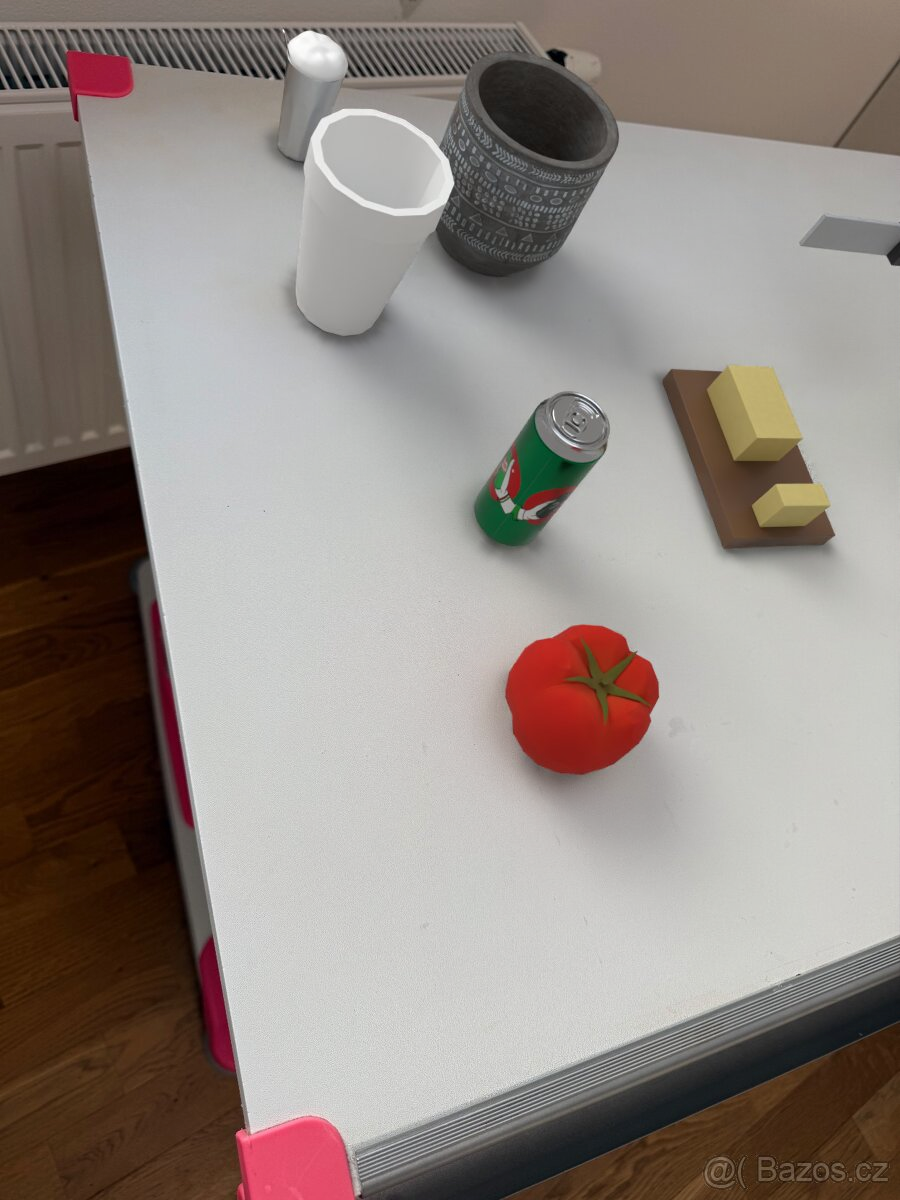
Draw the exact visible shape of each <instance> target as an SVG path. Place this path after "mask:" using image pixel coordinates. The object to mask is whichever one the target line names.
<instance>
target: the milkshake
mask: <svg viewBox="0 0 900 1200" xmlns="http://www.w3.org/2000/svg"><path fill="white" fill-rule="evenodd" d="M282 33H283V38H284V42H285V46H286V59H285V69H284V70H285V71H284V78H283V79H284V81H283V82H284V83H283V91H282V99H281V108H280V116H279V124H278V125H279V126H278V130H277V131H278V132H277V149H278V150H280V152H281V153H282V154H283V155H284V156H285V157H287V158H289V159H291V160H294V161H295V162H305V159H306V155H307V151H308V147H309V143H310V139H311V137H312V135H313V133H314V131H315V129H316V128H317V126H318V124H319V122H320V121H321V119H322V118H324V117H326V116H329V115H331V114H332V112H333V109H334V106H335V103H336V100H337V98H338V96H339V93H340V90H341V89H342V88H341V87H342V85H343V83H344V80H345V77H346V75H347V72H348V68H349V62H348V58H347V56H346V54H345V53H344V51H343V48H342V47H341V45H340V44H338V43H336V42H335V41H334V40H332V38H331V37H330V36H328V35H326V34H322V33H318V32H316V31H314V30H306V31H303V32H301V33H299V34H298V35H296V36H295V37H293V38H292V39H290V40H289V42H288V41H287V37H286V32H285V30H284V29H282Z"/></svg>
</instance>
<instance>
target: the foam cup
mask: <svg viewBox="0 0 900 1200" xmlns="http://www.w3.org/2000/svg"><path fill="white" fill-rule="evenodd" d="M303 174H304V190H303V200H302V201H303V202H302V212H301V213H302V214H301V222H300V223H301V225H300V233H299V234H300V235H299V243H298V244H299V245H298V257H297V266H296V276H295V277H296V278H295V298H296V299H295V300H296V304H297V307H298V309H299V311H300V312H301V313H302V315H303V316H304V317H305V319H306V320H307V322H310V323H311V324H313V325H314V326H316V327H317V328H318V329H320V330H321V331H323V332H326V333H330V334H333V335H337V336H341V337H346V336H356V335H362V334H363V333H364V332H366V331H368V330H369V329H371V328H372V327H373V326H374V324H375V323H376V322H377V320H378V319H379V317H380V315H381V314H382V313H383V311H384V309H385V307H386V306H387V304H388V302H389V301H390V299H391V298H392V296H393V294H394V292H395V291H396V289H397V287H398V286H399V284H400V282H401V281H402V280H403V278H404V276H405V274H406V273H407V271H408V270H409V268H410V266H411V265H412V263H413V262H414V260H415V258H416V257H417V255H418V254H419V252H420V250H421V248H422V247H423V245H424V244H425V242H426V241H427V239H428V237H429V235H430V234H432V233H433V232H436V227H437V224H438V222H439V220H440V217H441V215H442V212H443V210H444V208H445V205H446V203H447V200H448V198H449V195H450V193H451V190H452V188H453V186H454V180H453V176H452V172H451V168H450V164H449V160H448V159H447V157H446V156H445V155H444V154H443V152H442V151H441V150H440V149H439V146H438V144H437V143H436V142H435V141H434V139H433V138H432V137H431V136H429V135H428V134H427V133H425V132H423V131H422V130H420V129H419V128H418V127H417V126H415V125H413V124H412V123H410V122H409V121H407V120H406V119H404V118H401V117H398V116H395V115H392V114H389V113H386V112H383V111H380V110H377V109H374V108H343V109H340V110H338V111H335V112H334V113H331V115H329V116H326V117H324V118H322V119H321V121H320V122H319V124H318V126H317V128H316V129H315V131H314V133H313V135H312V137H311V139H310V143H309V147H308V151H307V155H306V159H305V161H304V163H303Z"/></svg>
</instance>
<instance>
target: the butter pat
mask: <svg viewBox="0 0 900 1200" xmlns="http://www.w3.org/2000/svg"><path fill="white" fill-rule="evenodd" d="M831 506H832V505H831V502H830V500H829V497H828V495H827V492H826V490H825V488H824V485H823V483H814V484H775V485H774V486H773V487H772V488H771V489H770V490H769V491H768V492H766V493H765V494H764V495H763V496H762V497H761V498H760V499H758V500H757V501H756V502H755V503H754V504H753V505H752V508H753V511H754V513H755V516H756V518H757V521H758V524H759V526H760V527H789V526H806V525H807V524H808V523H809V522H811V521H812V520H813V519H814V518H816V517H817V516H818V515H820V514H821V513H822V512H823V511H825V512H826V510H827V509H829V508H830V507H831Z"/></svg>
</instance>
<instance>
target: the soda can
mask: <svg viewBox="0 0 900 1200" xmlns="http://www.w3.org/2000/svg"><path fill="white" fill-rule="evenodd" d="M610 434H611V425H610V420H609V418H608V415H607V414H606V412H605V411H604V409H603V408H602V407H601V405H600V404H598V403H597V402H596V401H595V400H594V399H592V398H591V397H589V396H588V395H585V394H583V393H581V392H577V391H572V390H564V391H559V392H557V393H555V394H553V395H552V396H551V397H548V398H545V399H544V400H542V401H541V402H540V403H538V405H537V406H536V408H535V409H534V410H533V411H532V414H531V415H530V417H529V418H528V419H527V421H526V423H525V424H524V426H523V427H522V428H521V430H520V432H519V433H518V435H517V436H516V437H515V439H514V440H513V442H512V443H511V445H510V446H509V448H508V449H507V450H506V452H505V454H504V455H503V457H502V459H500V461H499V463H498V464H497V466H496V467H495V469H494V470H493V472H492V473H491V475H490V476H489V478H488V479H487V480H486V482H485V484H484V485H483V487H482V488H481V490H480V491H479V493H478V495H477V496H476V498H475V501H474V506H473V511H474V512H473V513H474V517H475V520H476V522H477V524H478V526H479V527H480V529H481V531H482V532H483V533H484V534H485V536H487V537H488V538H489V539H491V540H492V541H494V542H495V543H498V544H501V545H503V546H507V547H522V546H526V545H529V544H530V543H532V542H533V541H534V540H535V539H536V538H537V536H538V535H539V534H540V533H541V532H542V530H543V529H544V528H545V527H546V526H547V524H548V523H549V522H550V521H551V519H552V518H553V517H554V516H555V515H556V513H557V512H558V511H559V510H560V509H561V507H562V506H563V505H564V504H565V502H566V501H568V499H569V497H571V495H572V494H573V493H574V491H575V490H576V489H577V488H578V487H579V485H580V484H581V483H582V482H583V480H584V479H585V478H586V477H587V476H588V474H589V473H590V472H591V471H592V469H593V468H594V467H595V466H596V465H597V463H598V462H599V461H600V460H601V459H602V457H603V456H604V455H605V453H606V451H607V448H608V441H609V437H610Z"/></svg>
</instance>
